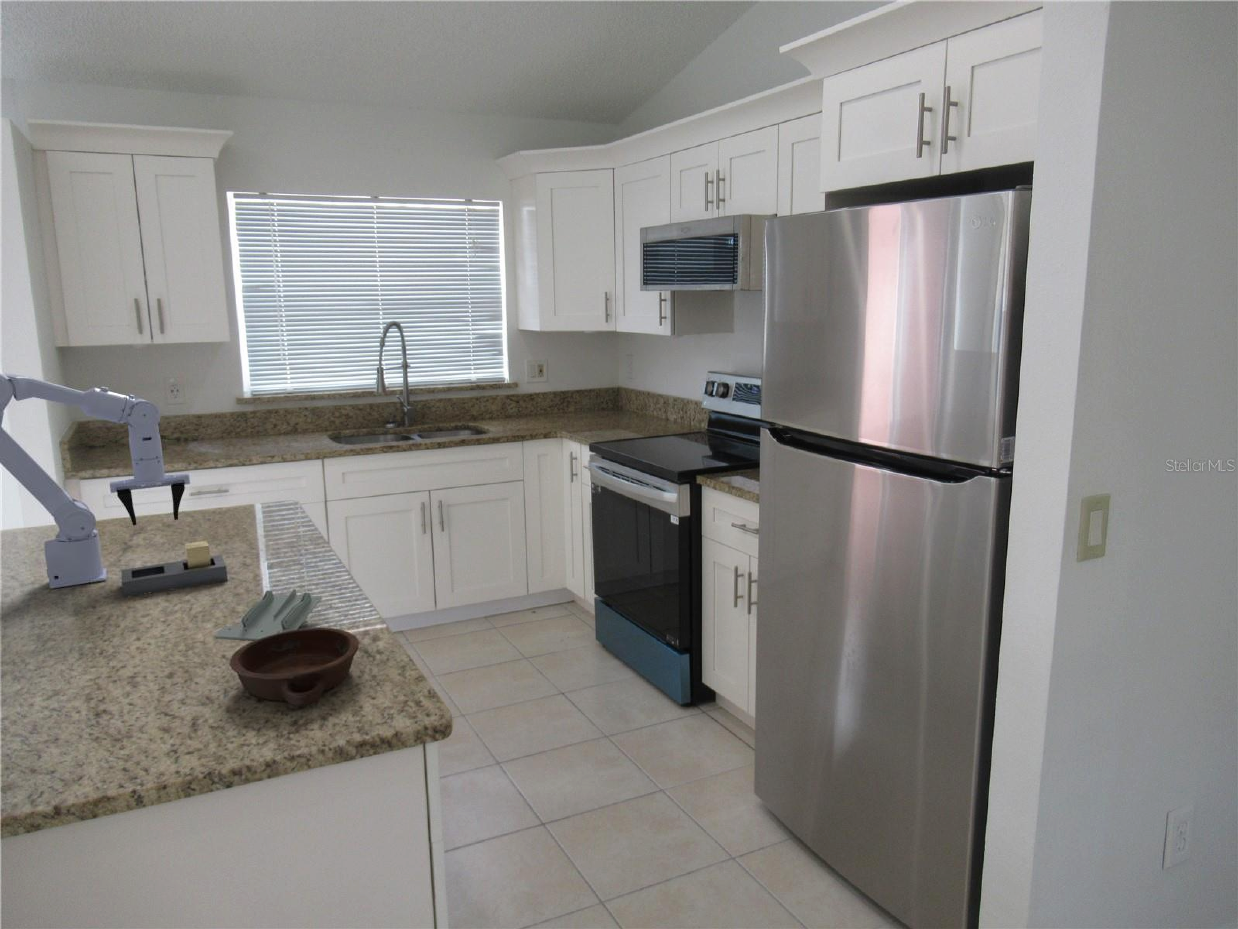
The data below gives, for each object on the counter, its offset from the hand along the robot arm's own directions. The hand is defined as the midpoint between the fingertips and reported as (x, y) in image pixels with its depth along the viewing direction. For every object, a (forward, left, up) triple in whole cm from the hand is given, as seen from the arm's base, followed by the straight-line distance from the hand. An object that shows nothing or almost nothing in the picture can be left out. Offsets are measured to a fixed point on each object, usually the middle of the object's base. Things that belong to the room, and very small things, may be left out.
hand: (155, 521), depth 181 cm
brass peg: (+7, -15, -10) cm, 19 cm away
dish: (+15, -75, -10) cm, 77 cm away
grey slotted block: (+2, -15, -9) cm, 18 cm away
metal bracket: (+16, -51, -10) cm, 54 cm away
